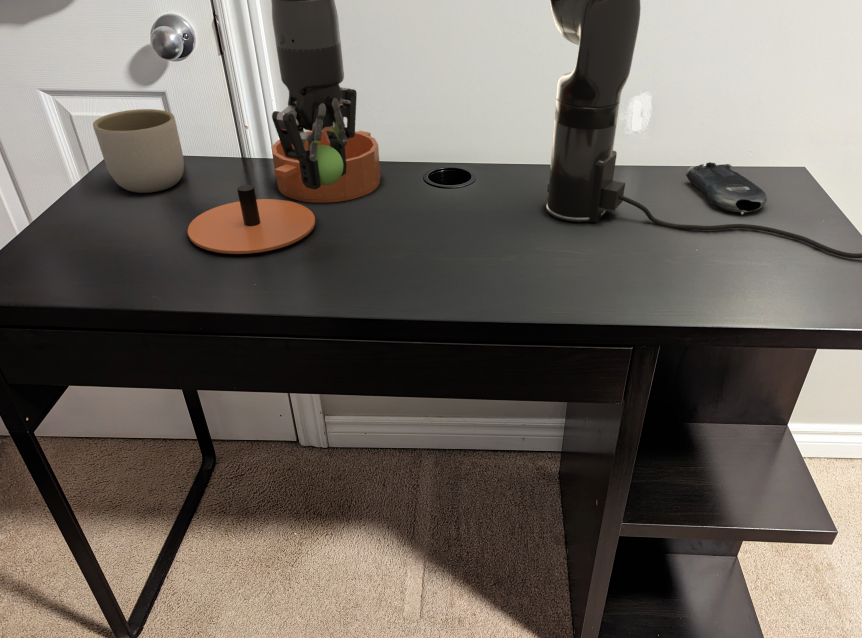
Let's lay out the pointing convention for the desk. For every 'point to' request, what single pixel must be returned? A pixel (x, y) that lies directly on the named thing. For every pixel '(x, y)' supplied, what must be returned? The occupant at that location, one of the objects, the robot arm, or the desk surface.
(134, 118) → the planter
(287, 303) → the desk surface
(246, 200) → the lid
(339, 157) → the ball
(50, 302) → the desk surface
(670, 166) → the desk surface
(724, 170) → the electronic device
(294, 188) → the pan
